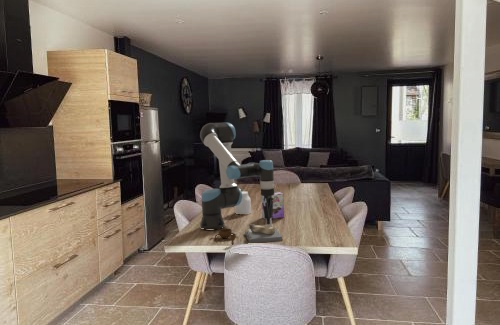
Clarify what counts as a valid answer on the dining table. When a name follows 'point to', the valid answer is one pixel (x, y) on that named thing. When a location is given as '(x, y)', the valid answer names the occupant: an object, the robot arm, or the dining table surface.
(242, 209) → the jar
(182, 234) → the dining table surface
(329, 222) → the dining table surface
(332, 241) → the dining table surface
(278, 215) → the candy box
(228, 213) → the dining table surface
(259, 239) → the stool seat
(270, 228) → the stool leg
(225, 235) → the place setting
